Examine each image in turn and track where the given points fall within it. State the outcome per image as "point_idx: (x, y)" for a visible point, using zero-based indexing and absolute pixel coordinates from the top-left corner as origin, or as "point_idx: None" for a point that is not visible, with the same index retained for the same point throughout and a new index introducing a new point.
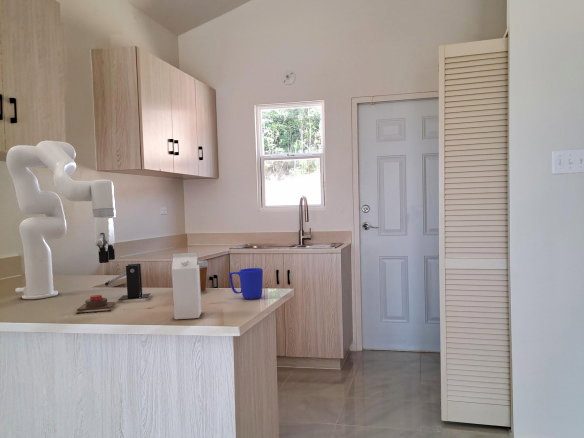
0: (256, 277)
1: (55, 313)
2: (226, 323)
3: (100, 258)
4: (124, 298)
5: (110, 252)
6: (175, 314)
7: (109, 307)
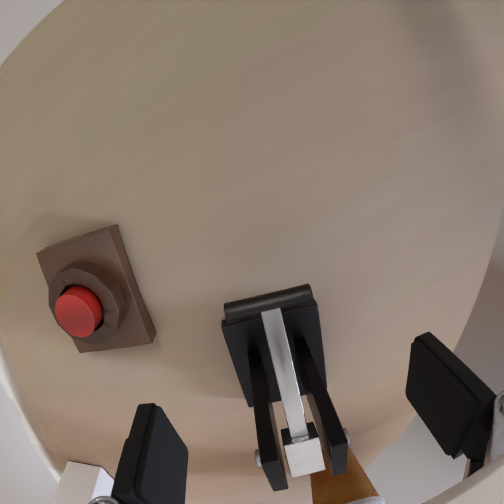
0: None
1: (57, 147)
2: None
3: (137, 443)
4: (241, 341)
5: (441, 420)
6: (66, 467)
7: (80, 350)
